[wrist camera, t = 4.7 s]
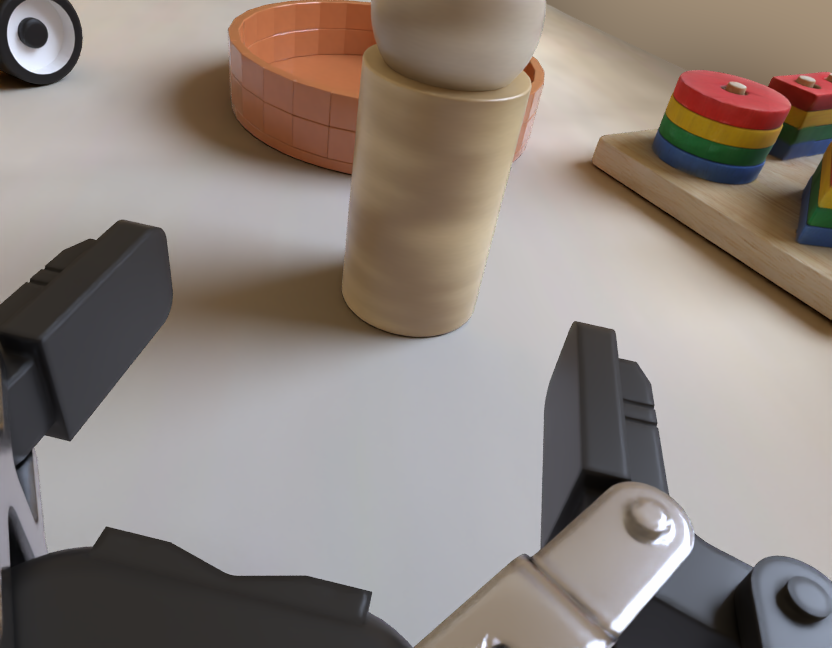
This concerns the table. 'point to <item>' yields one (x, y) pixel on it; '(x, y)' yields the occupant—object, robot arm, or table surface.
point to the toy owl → (434, 156)
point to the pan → (314, 78)
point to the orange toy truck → (39, 39)
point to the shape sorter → (743, 172)
